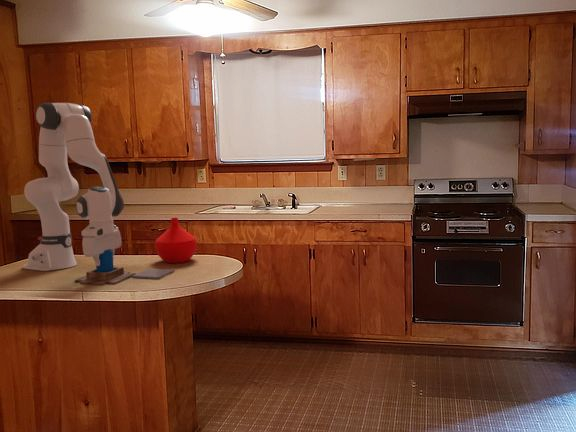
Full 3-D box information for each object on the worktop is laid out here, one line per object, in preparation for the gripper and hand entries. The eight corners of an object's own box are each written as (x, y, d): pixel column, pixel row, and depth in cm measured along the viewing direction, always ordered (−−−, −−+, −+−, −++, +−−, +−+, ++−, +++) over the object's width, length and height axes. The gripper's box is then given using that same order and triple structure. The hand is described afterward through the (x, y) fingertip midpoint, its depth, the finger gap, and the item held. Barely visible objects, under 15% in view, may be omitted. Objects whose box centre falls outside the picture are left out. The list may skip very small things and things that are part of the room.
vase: (148, 265, 243) (145, 221, 240) (166, 255, 261) (164, 215, 258) (188, 266, 239) (185, 221, 236) (204, 256, 257) (201, 215, 254)
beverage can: (99, 276, 225) (97, 247, 223) (115, 276, 225) (113, 246, 224) (95, 281, 218) (92, 250, 217) (112, 280, 219) (110, 249, 217)
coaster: (132, 277, 222) (132, 275, 222) (148, 270, 233) (148, 268, 233) (159, 279, 218) (159, 277, 218) (174, 271, 229) (174, 269, 229)
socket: (71, 283, 216) (70, 274, 215) (100, 272, 233) (99, 263, 232) (112, 285, 211) (111, 276, 210) (138, 273, 228) (137, 265, 227)
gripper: (110, 224, 230) (113, 257, 232) (78, 232, 210) (81, 268, 212) (124, 224, 228) (126, 257, 230) (92, 233, 208) (95, 269, 210)
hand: (104, 263), depth 221 cm, fingers closed on beverage can, 6 cm apart
